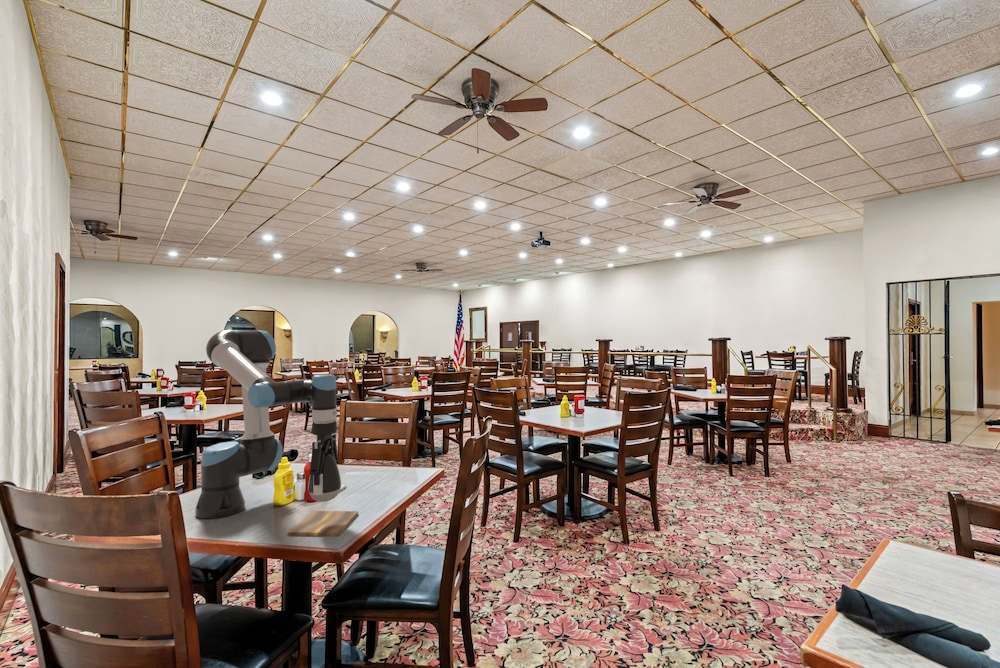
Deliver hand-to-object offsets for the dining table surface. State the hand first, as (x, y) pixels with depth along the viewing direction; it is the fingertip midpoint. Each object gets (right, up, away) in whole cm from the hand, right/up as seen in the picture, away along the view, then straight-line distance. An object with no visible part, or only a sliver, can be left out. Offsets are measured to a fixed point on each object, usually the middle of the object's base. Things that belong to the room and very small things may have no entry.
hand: (324, 489), depth 156 cm
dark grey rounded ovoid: (0, -3, 0) cm, 3 cm away
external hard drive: (-10, -12, +33) cm, 37 cm away
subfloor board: (0, -11, 0) cm, 11 cm away
